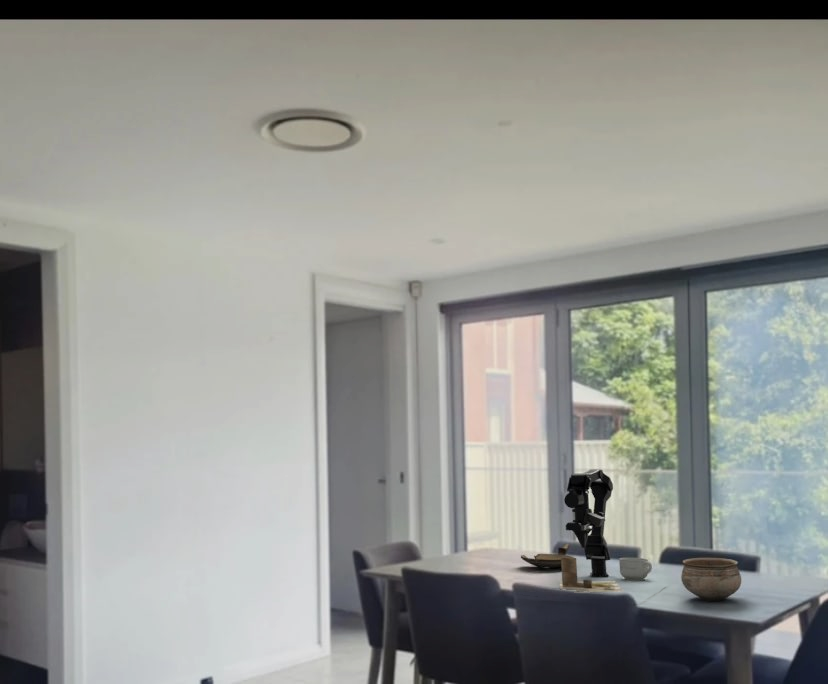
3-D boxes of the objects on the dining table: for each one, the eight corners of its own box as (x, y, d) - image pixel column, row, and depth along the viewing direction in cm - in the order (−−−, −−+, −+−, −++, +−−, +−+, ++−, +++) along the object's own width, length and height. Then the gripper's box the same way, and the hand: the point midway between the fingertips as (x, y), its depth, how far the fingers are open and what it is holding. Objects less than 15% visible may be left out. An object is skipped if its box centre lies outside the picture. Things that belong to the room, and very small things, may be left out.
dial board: (558, 584, 304) (558, 581, 304) (615, 583, 302) (615, 580, 302) (561, 595, 284) (561, 591, 284) (622, 594, 282) (622, 590, 282)
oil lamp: (509, 567, 347) (508, 549, 348) (562, 560, 363) (561, 542, 363) (542, 574, 328) (541, 555, 329) (597, 566, 344) (596, 547, 344)
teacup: (614, 579, 312) (613, 557, 313) (638, 576, 316) (636, 555, 317) (636, 584, 299) (635, 562, 300) (660, 581, 303) (659, 560, 304)
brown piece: (612, 587, 288) (610, 559, 289) (609, 589, 286) (607, 560, 287) (564, 584, 298) (563, 556, 299) (561, 586, 295) (559, 558, 296)
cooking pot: (711, 590, 283) (709, 554, 285) (760, 598, 268) (757, 560, 269) (664, 600, 270) (662, 563, 271) (713, 609, 254) (710, 569, 255)
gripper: (591, 508, 299) (594, 551, 297) (610, 504, 314) (612, 545, 312) (564, 507, 305) (566, 550, 303) (583, 504, 321) (585, 544, 318)
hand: (583, 547), depth 309 cm, fingers closed
